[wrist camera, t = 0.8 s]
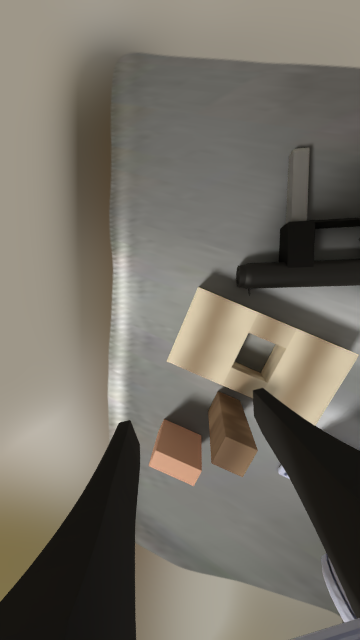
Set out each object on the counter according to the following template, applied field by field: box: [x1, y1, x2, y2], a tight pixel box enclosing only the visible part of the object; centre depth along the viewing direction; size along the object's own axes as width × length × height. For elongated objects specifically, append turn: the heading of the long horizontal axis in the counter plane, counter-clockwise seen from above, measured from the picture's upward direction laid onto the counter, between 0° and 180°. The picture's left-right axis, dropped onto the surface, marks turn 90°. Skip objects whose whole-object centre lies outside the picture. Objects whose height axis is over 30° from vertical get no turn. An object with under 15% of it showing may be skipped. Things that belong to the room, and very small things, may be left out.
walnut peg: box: [208, 391, 258, 477], centre depth 25 cm, size 3×3×9 cm
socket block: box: [167, 287, 359, 425], centre depth 26 cm, size 20×10×3 cm, turn 67°
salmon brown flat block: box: [149, 419, 202, 486], centre depth 28 cm, size 6×2×6 cm, turn 67°
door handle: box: [236, 148, 360, 296], centre depth 24 cm, size 3×20×16 cm
